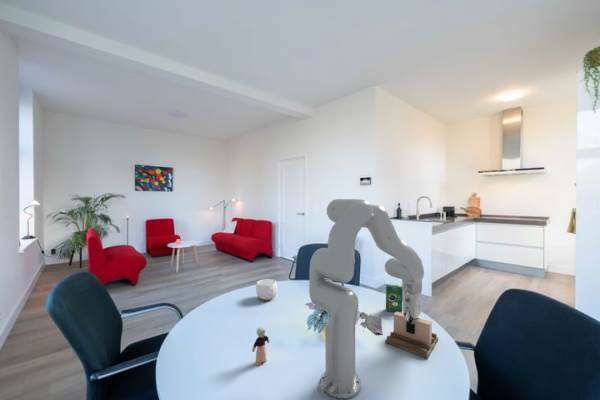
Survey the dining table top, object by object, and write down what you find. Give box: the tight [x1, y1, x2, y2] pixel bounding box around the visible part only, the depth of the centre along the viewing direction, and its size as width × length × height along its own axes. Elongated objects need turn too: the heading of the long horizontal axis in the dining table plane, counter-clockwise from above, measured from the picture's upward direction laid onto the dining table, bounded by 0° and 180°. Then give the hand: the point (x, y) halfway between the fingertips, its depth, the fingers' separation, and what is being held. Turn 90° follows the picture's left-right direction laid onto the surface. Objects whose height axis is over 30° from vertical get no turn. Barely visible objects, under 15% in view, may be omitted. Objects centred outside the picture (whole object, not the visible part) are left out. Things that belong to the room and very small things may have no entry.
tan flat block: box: [393, 311, 433, 345], centre depth 105 cm, size 3×14×8 cm, turn 49°
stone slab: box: [359, 311, 383, 336], centre depth 120 cm, size 18×2×10 cm
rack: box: [384, 330, 439, 360], centre depth 105 cm, size 16×16×2 cm
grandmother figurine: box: [251, 326, 271, 367], centre depth 94 cm, size 8×4×13 cm, turn 148°
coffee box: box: [385, 284, 404, 313], centre depth 133 cm, size 8×3×13 cm, turn 79°
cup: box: [255, 278, 278, 301], centre depth 150 cm, size 12×12×10 cm
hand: (412, 330), depth 105 cm, fingers closed on tan flat block, 3 cm apart
